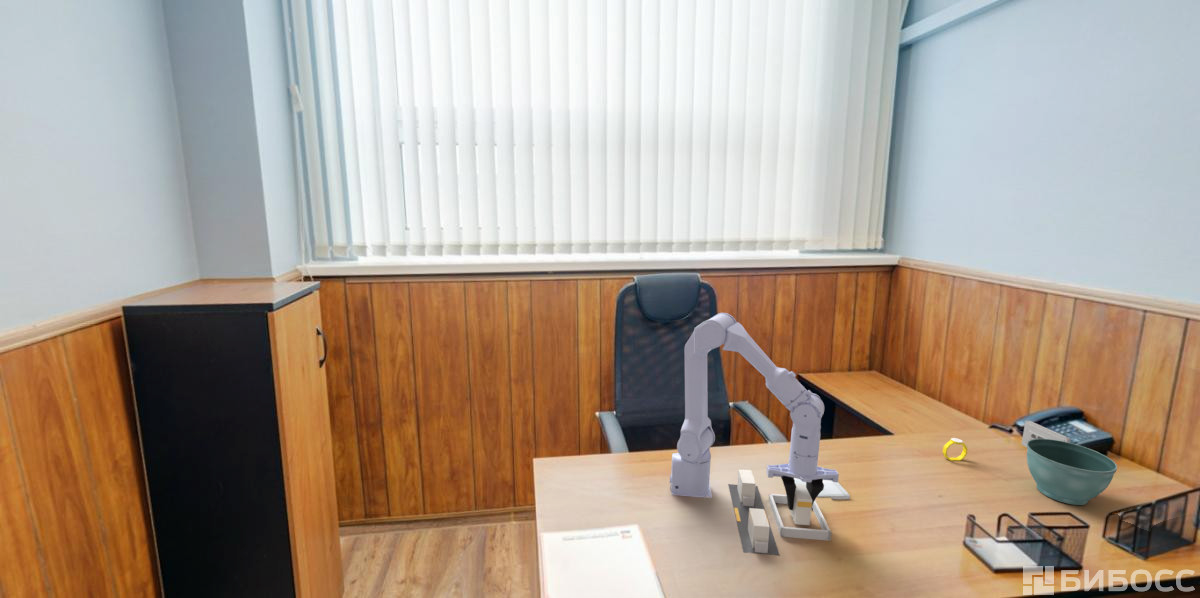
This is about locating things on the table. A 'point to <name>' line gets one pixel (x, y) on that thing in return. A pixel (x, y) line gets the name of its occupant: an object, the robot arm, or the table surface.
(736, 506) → the block
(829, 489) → the hard drive
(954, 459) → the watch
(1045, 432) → the cassette
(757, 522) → the block
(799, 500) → the block
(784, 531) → the tray
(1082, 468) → the teal green bowl
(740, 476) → the block
